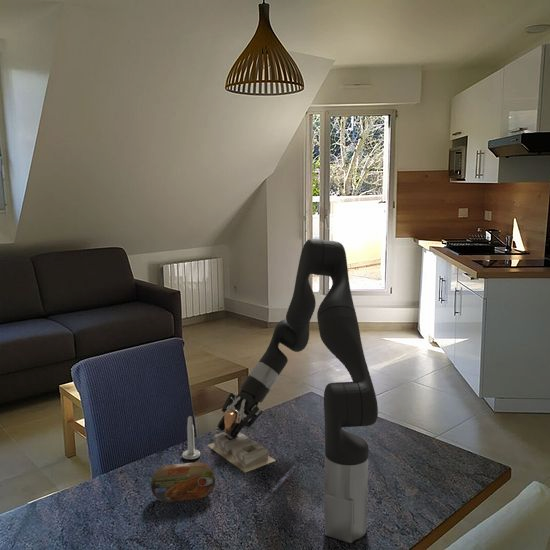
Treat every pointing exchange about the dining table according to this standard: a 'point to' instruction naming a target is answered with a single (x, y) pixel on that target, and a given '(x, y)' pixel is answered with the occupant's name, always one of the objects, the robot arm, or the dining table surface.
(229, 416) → the copper-coloured round peg
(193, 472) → the tin
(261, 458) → the white peg insertion board
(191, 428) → the screw
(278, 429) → the dining table surface
